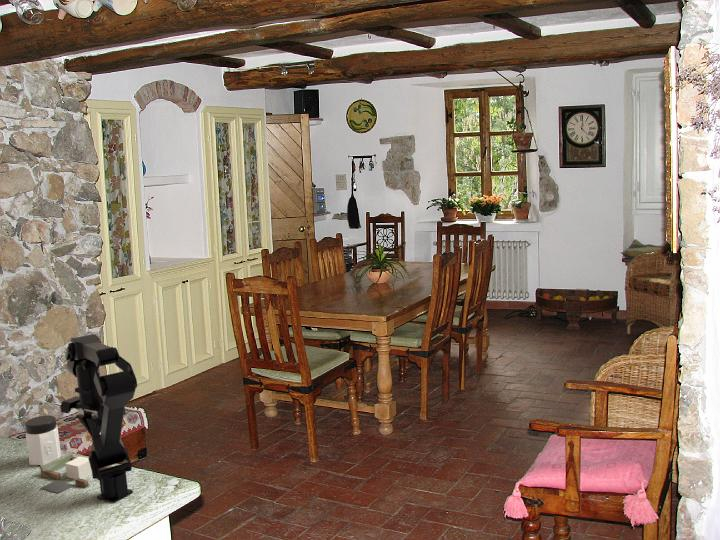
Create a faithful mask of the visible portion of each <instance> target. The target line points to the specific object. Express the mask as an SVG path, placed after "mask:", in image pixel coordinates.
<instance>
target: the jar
mask: <svg viewBox="0 0 720 540" xmlns="http://www.w3.org/2000/svg"><path fill="white" fill-rule="evenodd" d="M24 425H25V427H24V428H25V431H26V433H25V440H26V447H27V454H28V460H29V461H28V463H29V465H30V466H37V465H40V467H41V466H43V465H45V464H47V463H50V462H52V461H54V460H56V459H58V458H61V457H62V450H61V444H60V435H59V427H58V424H57V418H56V417H55V416H54V415H40V416H34V417H32V418H30V419H28V420H27V421H26V422H25V423H24Z"/></svg>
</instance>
